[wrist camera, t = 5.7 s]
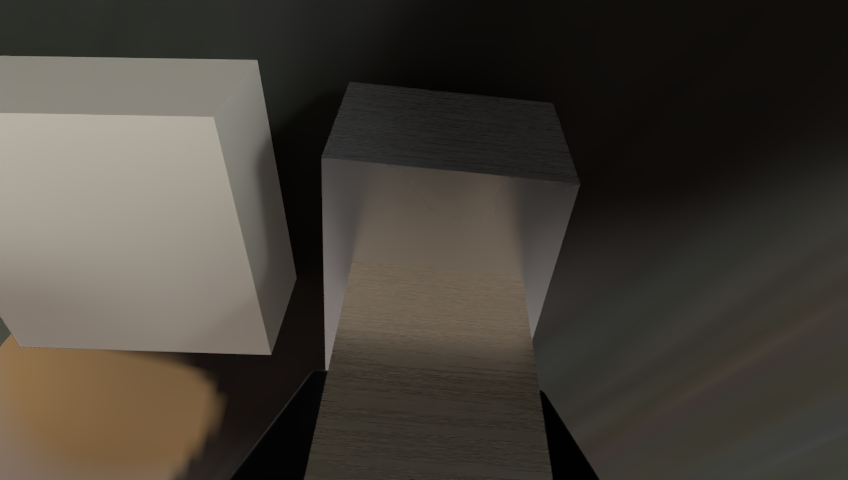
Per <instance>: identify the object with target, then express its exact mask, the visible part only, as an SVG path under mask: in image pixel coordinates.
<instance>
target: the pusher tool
mask: <svg viewBox="0 0 848 480" xmlns="http://www.w3.org/2000/svg"><path fill="white" fill-rule="evenodd" d="M321 167H322V218H323V268H324V319H325V370H328V373H327V377H326V382H325V386H324V391H323V395H322V400H321V404H320V409H319V414H318V418H317V423H316V427H315V432H314V436H313V441H312V446H311V450H310V455H309V459H308V464H307V468H306V473H305V477H304V480H553V478H552V471H551V464H550V458H549V451H548V444H547V438H546V431H545V424H544V418H543V411H542V404H541V398H540V391H539V384H538V378H537V371H536V365H535V358H534V351H533V345H532V339H533V335H534V332H535V329H536V326H537V322H538V319H539V316H540V313H541V309H542V306H543V303H544V300H545V297H546V293H547V290H548V287H549V284H550V280H551V277H552V274H553V271H554V267H555V264H556V261H557V258H558V254H559V251H560V248H561V245H562V242H563V238H564V235H565V232H566V229H567V225H568V222H569V219H570V216H571V212H572V209H573V206H574V203H575V199H576V196H577V193H578V190H579V186H580V181H579V178H578V176H577V173H576V170H575V167H574V164H573V161H572V158H571V155H570V152H569V149H568V146H567V143H566V140H565V137H564V135H563V132H562V129H561V126H560V123H559V120H558V117H557V114H556V111H555V108H554V105H553V103H548V102H539V101H529V100H520V99H510V98H501V97H491V96H482V95H472V94H463V93H453V92H444V91H434V90H425V89H415V88H406V87H396V86H387V85H377V84H368V83H358V82H349V84H348V87H347V90H346V92H345V95H344V98H343V100H342V103H341V106H340V109H339V111H338V114H337V117H336V119H335V122H334V125H333V127H332V130H331V133H330V135H329V138H328V141H327V144H326V146H325V149H324V152H323V154H322V157H321Z"/></svg>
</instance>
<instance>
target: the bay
mask: <svg viewBox="0 0 848 480" xmlns="http://www.w3.org/2000/svg"><path fill="white" fill-rule="evenodd" d="M10 334H11V332H10V331H9V329H8V328H7V326H6V324H5V323H4V321H3V320H2V318H1V317H0V345H2V343H3V342H4V341H5V340H6V339H7V337H8V336H9V335H10Z"/></svg>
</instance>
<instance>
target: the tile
mask: <svg viewBox="0 0 848 480" xmlns="http://www.w3.org/2000/svg"><path fill="white" fill-rule="evenodd" d="M296 279H297V277H296V272H295V266H294V261H293V255H292V250H291V244H290V239H289V233H288V228H287V222H286V216H285V211H284V205H283V200H282V194H281V189H280V183H279V178H278V172H277V167H276V161H275V156H274V150H273V144H272V139H271V133H270V128H269V122H268V117H267V111H266V106H265V100H264V95H263V89H262V83H261V78H260V72H259V67H258V61H257V60H221V59H160V58H99V57H38V56H0V317H1V318H2V320H3V321H4V323H5V324H6V326H7V328H8V329H9V331H10V332H11V334H12V335H13V337H14V338H15V340H16V341H17V343H18V345H19V346H20V347H34V348H68V349H98V350H130V351H162V352H193V353H225V354H257V355H271V354H272V351H273V348H274V345H275V342H276V339H277V336H278V333H279V330H280V327H281V324H282V321H283V318H284V315H285V312H286V309H287V306H288V303H289V300H290V297H291V294H292V291H293V288H294V285H295V282H296Z"/></svg>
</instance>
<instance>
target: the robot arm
mask: <svg viewBox="0 0 848 480" xmlns="http://www.w3.org/2000/svg"><path fill="white" fill-rule="evenodd" d="M327 373H328V370H319V369H316V370H313V371H312V372H311V373H310V374H309V375H308V376H307V378H306V379H305V380H304V381H303V383H302V384H301V385H300V387H299V388H298V389H297V390H296V392H295V393H294V394H293V396H292V397H291V398H290V400H289V401H288V402H287V403H286V405H285V406H284V407H283V409H282V410H281V411H280V412H279V414H278V415H277V416H276V418H275V419H274V420H273V422H272V423H271V424H270V425H269V427H268V428H267V429H266V431H265V432H264V433H263V434H262V436H261V437H260V438H259V440H258V441H257V442H256V444H255V445H254V446H253V447H252V449H251V450H250V451H249V453H248V454H247V455H246V457H245V458H244V459H243V460H242V462H241V463H240V464H239V466H238V467H237V468H236V469H235V471H234V472H233V473H232V475H231V476H230V477H229V479H228V480H304V477H305V473H306V468H307V464H308V459H309V455H310V450H311V446H312V441H313V436H314V432H315V427H316V423H317V418H318V414H319V409H320V404H321V400H322V395H323V391H324V386H325V382H326V377H327ZM539 391H540V398H541V404H542V411H543V418H544V424H545V431H546V438H547V444H548V451H549V458H550V464H551V471H552V478H553V480H599V478H598V476H597V475H596V473H595V472H594V470H593V469H592V467H591V465H590V464H589V462H588V461H587V459H586V457H585V456H584V454H583V453H582V451H581V450H580V448H579V446H578V445H577V443H576V442H575V440H574V439H573V437H572V435H571V434H570V432H569V431H568V429H567V428H566V426H565V424H564V423H563V421H562V420H561V418H560V416H559V415H558V413H557V412H556V410H555V409H554V407H553V405H552V404H551V402H550V401H549V399H548V398H547V396H546V395H545V393H544V392H543V391H541V390H539Z"/></svg>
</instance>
